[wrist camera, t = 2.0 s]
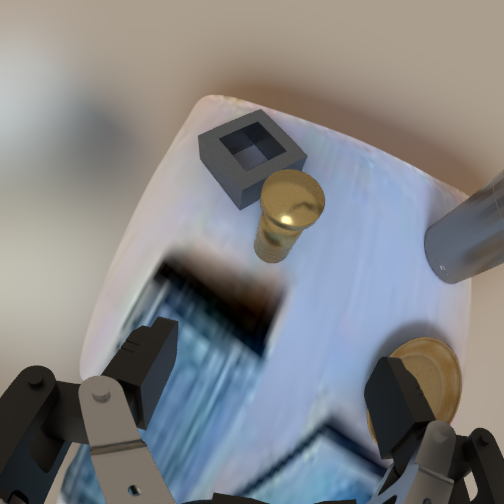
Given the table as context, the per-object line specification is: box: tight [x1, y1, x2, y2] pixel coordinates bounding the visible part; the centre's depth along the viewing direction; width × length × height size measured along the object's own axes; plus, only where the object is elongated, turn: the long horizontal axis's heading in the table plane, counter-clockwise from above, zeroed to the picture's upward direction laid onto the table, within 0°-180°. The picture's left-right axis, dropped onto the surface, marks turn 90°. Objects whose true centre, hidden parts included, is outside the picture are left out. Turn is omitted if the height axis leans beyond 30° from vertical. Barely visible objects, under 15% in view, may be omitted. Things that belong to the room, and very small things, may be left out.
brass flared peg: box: [254, 169, 325, 263], centre depth 27 cm, size 5×5×11 cm
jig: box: [198, 109, 307, 210], centre depth 33 cm, size 9×9×4 cm
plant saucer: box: [367, 337, 462, 445], centre depth 26 cm, size 15×15×3 cm
